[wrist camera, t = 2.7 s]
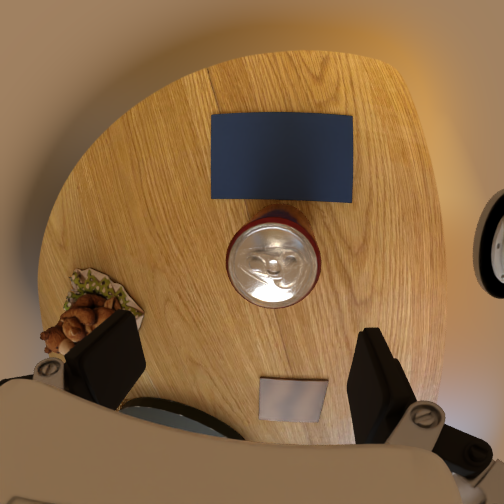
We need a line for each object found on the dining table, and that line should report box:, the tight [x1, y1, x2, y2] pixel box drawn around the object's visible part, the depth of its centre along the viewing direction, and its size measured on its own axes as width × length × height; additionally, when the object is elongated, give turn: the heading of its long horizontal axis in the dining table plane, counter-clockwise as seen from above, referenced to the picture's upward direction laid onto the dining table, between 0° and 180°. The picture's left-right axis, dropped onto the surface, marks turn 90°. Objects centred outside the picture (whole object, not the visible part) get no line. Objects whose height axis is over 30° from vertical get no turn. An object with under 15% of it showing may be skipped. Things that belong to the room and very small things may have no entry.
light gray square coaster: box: [259, 377, 328, 422], centre depth 38 cm, size 10×10×1 cm
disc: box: [119, 397, 245, 441], centre depth 45 cm, size 30×30×3 cm
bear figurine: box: [40, 268, 144, 355], centre depth 33 cm, size 14×15×12 cm
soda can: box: [226, 203, 321, 309], centre depth 26 cm, size 7×7×12 cm
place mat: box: [211, 112, 353, 203], centre depth 29 cm, size 16×10×1 cm, turn 90°
